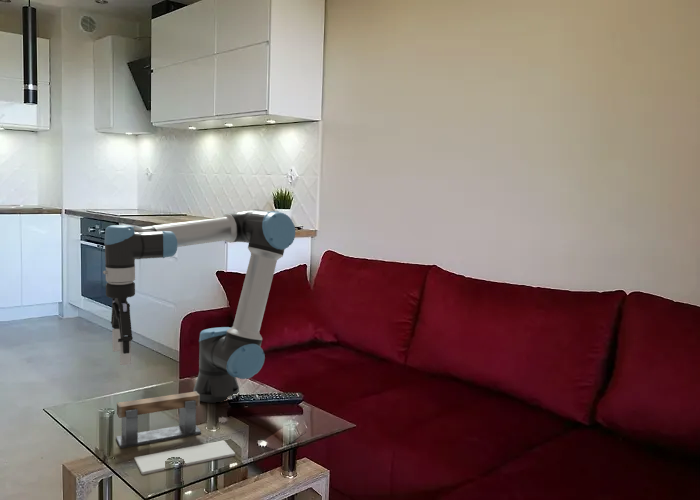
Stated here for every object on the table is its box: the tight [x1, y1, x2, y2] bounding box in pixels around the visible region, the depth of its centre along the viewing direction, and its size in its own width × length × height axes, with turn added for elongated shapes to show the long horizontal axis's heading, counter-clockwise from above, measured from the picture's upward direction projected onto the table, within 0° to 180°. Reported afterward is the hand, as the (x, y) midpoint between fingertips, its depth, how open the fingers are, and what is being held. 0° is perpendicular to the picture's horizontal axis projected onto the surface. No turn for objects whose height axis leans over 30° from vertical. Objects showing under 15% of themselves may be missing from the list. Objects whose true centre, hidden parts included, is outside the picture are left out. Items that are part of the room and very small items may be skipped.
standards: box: [115, 400, 202, 449], centre depth 171 cm, size 22×6×10 cm, turn 121°
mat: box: [134, 439, 236, 475], centre depth 160 cm, size 24×9×1 cm, turn 121°
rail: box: [116, 390, 201, 419], centre depth 171 cm, size 22×4×3 cm, turn 121°
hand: (121, 357), depth 169 cm, fingers open, 13 cm apart
